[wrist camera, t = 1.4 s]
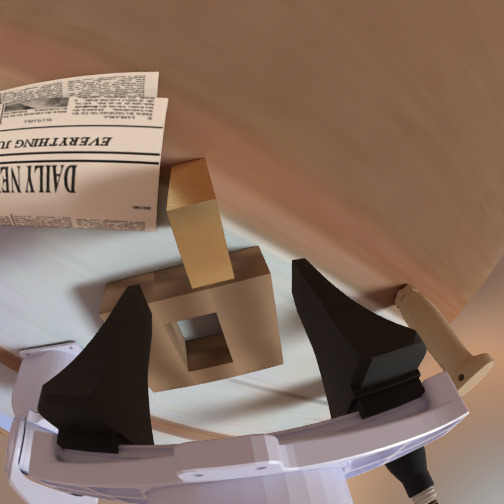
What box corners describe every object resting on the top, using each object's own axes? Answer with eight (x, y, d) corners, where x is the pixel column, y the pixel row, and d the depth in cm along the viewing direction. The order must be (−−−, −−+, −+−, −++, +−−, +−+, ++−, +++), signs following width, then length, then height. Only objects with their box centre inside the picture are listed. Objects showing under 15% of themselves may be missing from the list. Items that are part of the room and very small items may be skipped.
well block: (153, 363, 32) (153, 392, 28) (106, 283, 25) (98, 314, 22) (273, 335, 33) (283, 363, 30) (258, 246, 26) (270, 273, 23)
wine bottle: (358, 387, 46) (428, 534, 21) (336, 383, 43) (409, 549, 18) (386, 364, 43) (467, 514, 19) (366, 357, 40) (454, 529, 16)
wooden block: (187, 225, 24) (192, 288, 17) (171, 166, 21) (166, 211, 14) (218, 217, 24) (234, 278, 17) (204, 157, 21) (215, 198, 15)
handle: (376, 308, 35) (441, 405, 22) (410, 267, 32) (488, 359, 20) (396, 316, 37) (456, 402, 24) (427, 279, 34) (498, 362, 22)
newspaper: (173, 71, 18) (171, 74, 16) (157, 218, 25) (155, 235, 23) (-61, 96, 12) (-78, 104, 10) (-45, 212, 19) (-56, 226, 17)
